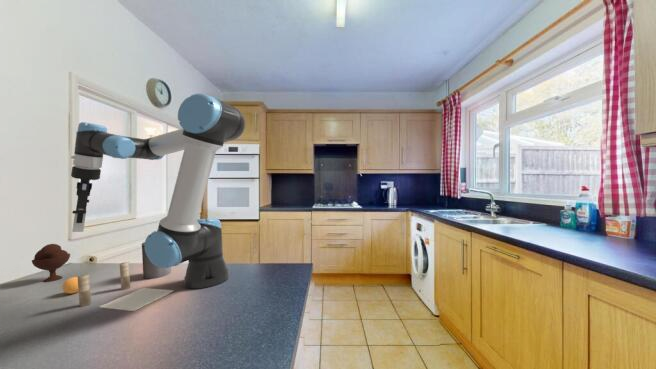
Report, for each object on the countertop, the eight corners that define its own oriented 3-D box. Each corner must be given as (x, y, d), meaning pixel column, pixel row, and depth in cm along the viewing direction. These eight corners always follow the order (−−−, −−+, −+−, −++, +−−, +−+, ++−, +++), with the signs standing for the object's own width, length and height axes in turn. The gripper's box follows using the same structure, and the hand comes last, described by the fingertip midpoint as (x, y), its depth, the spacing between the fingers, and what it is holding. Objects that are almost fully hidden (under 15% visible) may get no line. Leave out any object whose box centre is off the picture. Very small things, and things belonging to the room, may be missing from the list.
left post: (92, 303, 83) (91, 274, 83) (83, 306, 81) (81, 277, 80) (87, 302, 84) (85, 274, 84) (77, 306, 81) (75, 277, 81)
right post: (132, 287, 95) (130, 262, 95) (124, 289, 93) (123, 264, 93) (126, 286, 96) (125, 262, 96) (119, 289, 93) (117, 264, 93)
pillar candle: (139, 276, 107) (136, 239, 106) (165, 269, 115) (163, 235, 114) (149, 280, 101) (147, 242, 101) (176, 272, 109) (173, 237, 109)
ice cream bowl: (78, 274, 114) (76, 240, 114) (49, 284, 103) (46, 246, 103) (56, 275, 115) (54, 240, 115) (25, 285, 104) (22, 247, 104)
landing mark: (174, 291, 89) (174, 290, 89) (133, 311, 76) (133, 310, 76) (142, 288, 93) (142, 288, 93) (98, 307, 80) (98, 306, 80)
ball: (88, 290, 94) (87, 275, 94) (69, 296, 89) (68, 280, 89) (77, 289, 96) (76, 274, 96) (58, 295, 91) (57, 280, 91)
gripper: (74, 160, 99) (66, 215, 100) (69, 171, 81) (60, 237, 82) (100, 164, 104) (92, 215, 106) (101, 174, 86) (92, 236, 87)
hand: (78, 225), depth 94 cm, fingers open, 13 cm apart
